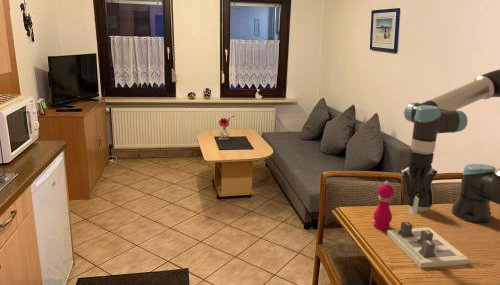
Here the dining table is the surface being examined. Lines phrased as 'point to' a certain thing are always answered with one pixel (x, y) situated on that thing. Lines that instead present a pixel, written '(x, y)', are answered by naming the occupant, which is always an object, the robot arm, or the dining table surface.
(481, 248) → the dining table surface
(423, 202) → the black glossy egg shape
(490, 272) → the dining table surface
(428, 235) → the breaker
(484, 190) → the robot arm
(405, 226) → the breaker
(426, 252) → the breaker
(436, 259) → the panel
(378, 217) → the pepper mill
